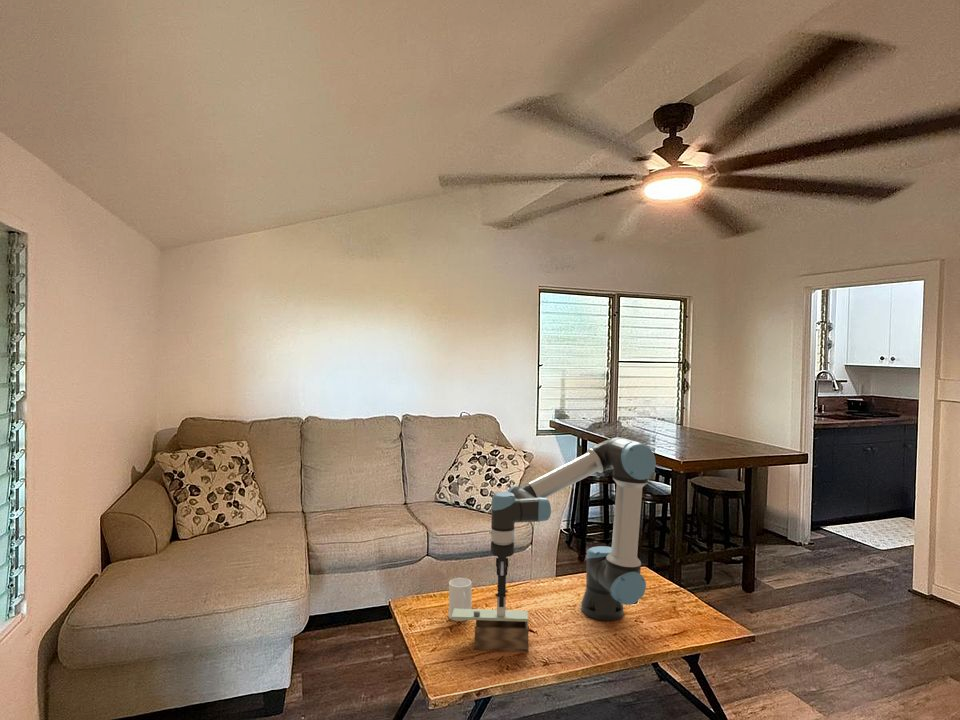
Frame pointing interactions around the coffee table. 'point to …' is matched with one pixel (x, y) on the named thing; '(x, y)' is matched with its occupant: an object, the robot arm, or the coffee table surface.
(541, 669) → the coffee table surface
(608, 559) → the robot arm
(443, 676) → the coffee table surface
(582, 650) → the coffee table surface
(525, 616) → the lid
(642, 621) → the coffee table surface
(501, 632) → the cable box
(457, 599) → the mug
